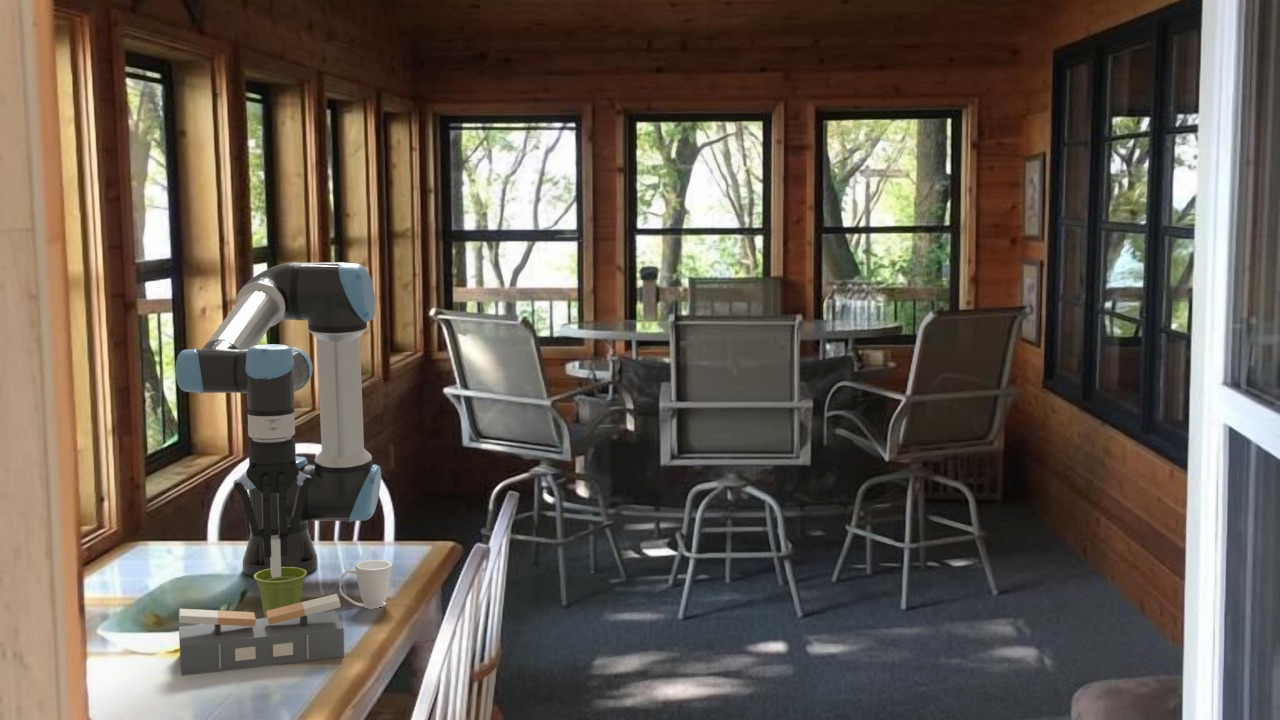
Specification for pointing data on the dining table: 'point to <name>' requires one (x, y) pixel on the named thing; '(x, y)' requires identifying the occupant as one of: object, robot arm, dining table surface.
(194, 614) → the rocker
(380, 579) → the cup
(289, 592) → the plant pot
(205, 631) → the switch unit
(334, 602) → the rocker
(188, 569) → the dining table surface
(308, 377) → the robot arm
